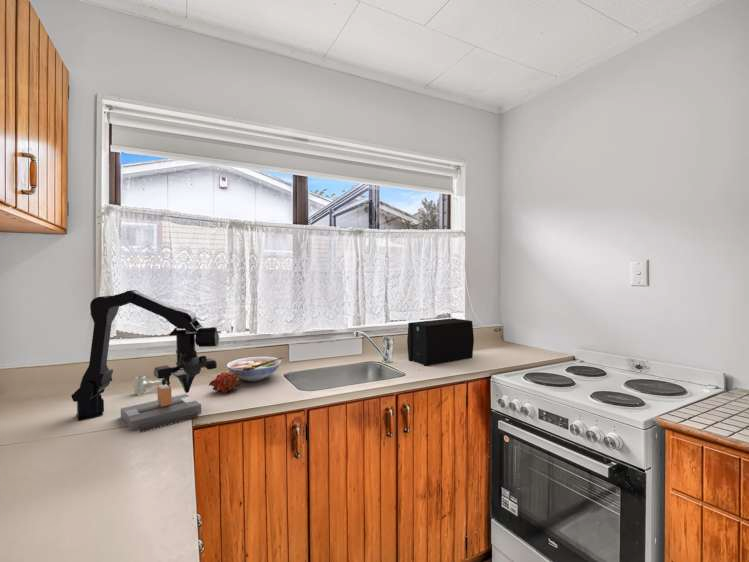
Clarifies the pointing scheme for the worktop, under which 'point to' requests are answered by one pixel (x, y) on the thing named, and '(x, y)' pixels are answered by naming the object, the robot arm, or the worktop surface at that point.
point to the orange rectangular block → (164, 395)
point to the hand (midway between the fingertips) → (186, 392)
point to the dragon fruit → (226, 382)
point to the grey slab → (168, 421)
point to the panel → (158, 411)
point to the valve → (147, 384)
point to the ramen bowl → (254, 367)
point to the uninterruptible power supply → (440, 341)
